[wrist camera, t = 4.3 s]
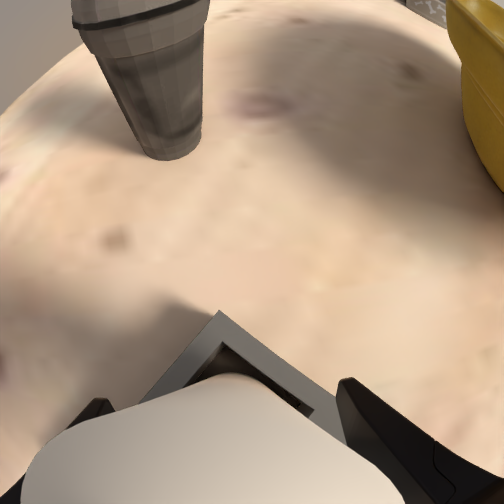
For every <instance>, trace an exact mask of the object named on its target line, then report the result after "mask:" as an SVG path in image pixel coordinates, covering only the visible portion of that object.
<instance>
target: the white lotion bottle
mask: <svg viewBox="0 0 504 504" xmlns="http://www.w3.org/2000/svg"><path fill="white" fill-rule="evenodd" d="M20 501H21V504H405V502H404V500H403V498H402V496H401V494H400V493H399V491H398V490H397V489H396V487H395V486H394V485H393V483H392V482H391V480H390V479H389V478H387V477H386V476H385V475H384V474H383V473H382V472H381V471H380V470H379V469H378V468H377V467H376V466H375V465H373V464H372V463H370V462H369V461H368V460H366V459H365V458H363V457H362V456H360V455H359V454H357V453H356V452H355V451H353V450H352V449H350V448H349V447H347V446H346V445H344V444H343V443H341V442H340V441H338V440H337V439H335V438H334V437H333V436H331V435H330V434H328V433H327V432H326V431H324V430H323V429H321V428H320V427H319V426H317V425H316V424H314V423H313V422H312V421H310V420H309V419H308V418H306V417H305V416H304V415H302V414H301V413H300V412H298V411H297V410H296V409H294V408H293V407H292V406H290V405H289V404H288V403H286V402H285V401H284V400H283V399H281V398H280V397H279V396H277V395H276V394H275V393H274V392H272V391H271V390H270V389H269V388H267V387H266V386H265V385H264V384H262V383H261V382H260V381H259V380H257V379H256V378H254V377H252V376H250V375H247V374H244V373H239V372H226V373H221V374H218V375H215V376H213V377H211V378H208V379H206V380H203V381H201V382H198V383H196V384H193V385H190V386H188V387H185V388H183V389H180V390H177V391H175V392H172V393H169V394H167V395H164V396H161V397H158V398H155V399H153V400H150V401H147V402H144V403H141V404H138V405H135V406H132V407H129V408H126V409H123V410H119V411H116V412H113V413H110V414H107V415H103V416H100V417H97V418H93V419H90V420H86V421H83V422H81V423H79V424H77V425H75V426H73V427H71V428H69V429H66V430H64V431H63V432H61V433H60V434H59V435H57V436H56V437H54V438H53V439H52V440H50V441H49V442H47V444H46V445H45V446H44V447H43V448H42V449H41V450H40V451H39V452H38V453H37V454H36V456H35V457H34V459H33V460H32V462H31V464H30V466H29V467H28V469H27V472H26V475H25V478H24V481H23V484H22V491H21V500H20Z"/></svg>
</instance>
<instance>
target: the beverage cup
mask: <svg viewBox="0 0 504 504" xmlns="http://www.w3.org/2000/svg"><path fill="white" fill-rule="evenodd" d="M209 4H210V0H71V8H72V12H73V15H72V24H73V28H75V29H78V30H79V33H80V36H81V38H82V40H83V42H84V43H85V45H86V46H87V48H88V49H89V51H90V52H91V53H92V54H94V55H95V57H96V59H97V61H98V64H99V66H100V68H101V70H102V72H103V74H104V76H105V78H106V80H107V82H108V84H109V86H110V88H111V90H112V92H113V94H114V96H115V98H116V100H117V102H118V104H119V106H120V108H121V110H122V112H123V114H124V116H125V118H126V120H127V122H128V123H129V125H130V127H131V129H132V131H133V133H134V135H135V137H136V139H137V141H139V142H140V144H141V146H142V147H143V149H144V152H145V153H146V154H147V155H148V156H149V157H151V158H153V159H156V160H161V161H170V160H175V159H179V158H181V157H183V156H185V155H188V154H189V153H190V152H191V151H193V150H194V149H195V148H196V146H197V145H198V144H199V142H200V139H201V124H202V95H203V44H204V23H205V22H206V20H207V15H208V10H209Z"/></svg>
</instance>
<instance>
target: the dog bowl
mask: <svg viewBox="0 0 504 504" xmlns="http://www.w3.org/2000/svg"><path fill="white" fill-rule="evenodd" d="M406 7H407V8H408V9H410V10H412V11H413V12H415V13H417V14H418V15H420V16H422V17H424V18H425V19H427V20H429V21H431V22H433V23H435V24H437V25H439V26H441V27H443V28H445V29H447V23H446V0H406Z"/></svg>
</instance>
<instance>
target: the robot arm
mask: <svg viewBox="0 0 504 504" xmlns="http://www.w3.org/2000/svg"><path fill="white" fill-rule="evenodd" d="M336 404H337V408H338V412H339V416H340V420H341V424H342V428H343V432H344V436H345V440H346V444H347V447H349V448H350V449H352V450H353V451H355V452H356V453H357V454H359V455H360V456H362V457H363V458H365V459H366V460H368V461H369V462H370V463H372V464H373V465H375V466H376V467H377V468H378V469H379V470H380V471H381V472H382V473H383V474H384V475H385V476H386V477H387V478H389V479H390V480H391V482H392V483H393V485H394V486H395V487H396V489H397V490H398V491H399V493H400V494H401V496H402V498H403V500H404V502H405V504H504V478H501V477H498V476H496V475H494V474H492V473H490V472H488V471H486V470H484V469H482V468H480V467H478V466H476V465H474V464H472V463H470V462H469V461H467V460H465V459H463V458H462V457H460V456H458V455H456V454H455V453H453V452H452V451H450V450H449V449H448V448H446V447H445V446H443V445H442V444H440V443H439V442H438V441H435V440H434V439H433V438H432V437H431V436H429V435H428V434H427V433H425V432H424V431H423V430H421V429H420V428H419V427H417V426H416V425H415V424H413V423H412V422H411V421H409V420H408V419H407V418H405V417H404V416H403V415H401V414H400V413H399V412H397V411H396V410H395V409H394V408H392V407H391V406H390V405H388V404H387V403H386V402H384V401H383V400H382V399H381V398H379V397H378V396H377V395H375V394H374V393H373V392H372V391H370V390H369V389H368V388H366V387H365V386H364V385H363V384H361V383H360V382H359V381H357V380H356V379H355V378H353V377H349V378H345V379H341V380H340V381H339V384H338V388H337V393H336ZM113 412H115V410H114V408H113V407H112V405H111V403H110V402H109V400H108V399H107V398H94V399H93V400H92V401H91V402H90V403H89V404H88V405H87V407H86V408H85V409H84V410H83V411H82V412H81V413H80V414H79V415H78V416H77V417H76V418H75V419H74V421H73V422H72V423H71V424H70V425H69V426H68V427H67V428H66V429H69V428H71V427H73V426H75V425H77V424H79V423H81V422H83V421H86V420H90V419H93V418H97V417H100V416H103V415H107V414H110V413H113ZM66 429H65V430H66ZM25 475H26V473H25V474H24V475H23V476H22V477H21V478H20V479H19V480H18V481H17V482H16V483H15V484H14V485H13V486H12V487H11V488H10V489H9V490H8V491H7V492H6V493H5V494H4V495H2V496H1V497H0V504H21V501H20V500H21V491H22V484H23V481H24V478H25Z"/></svg>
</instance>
